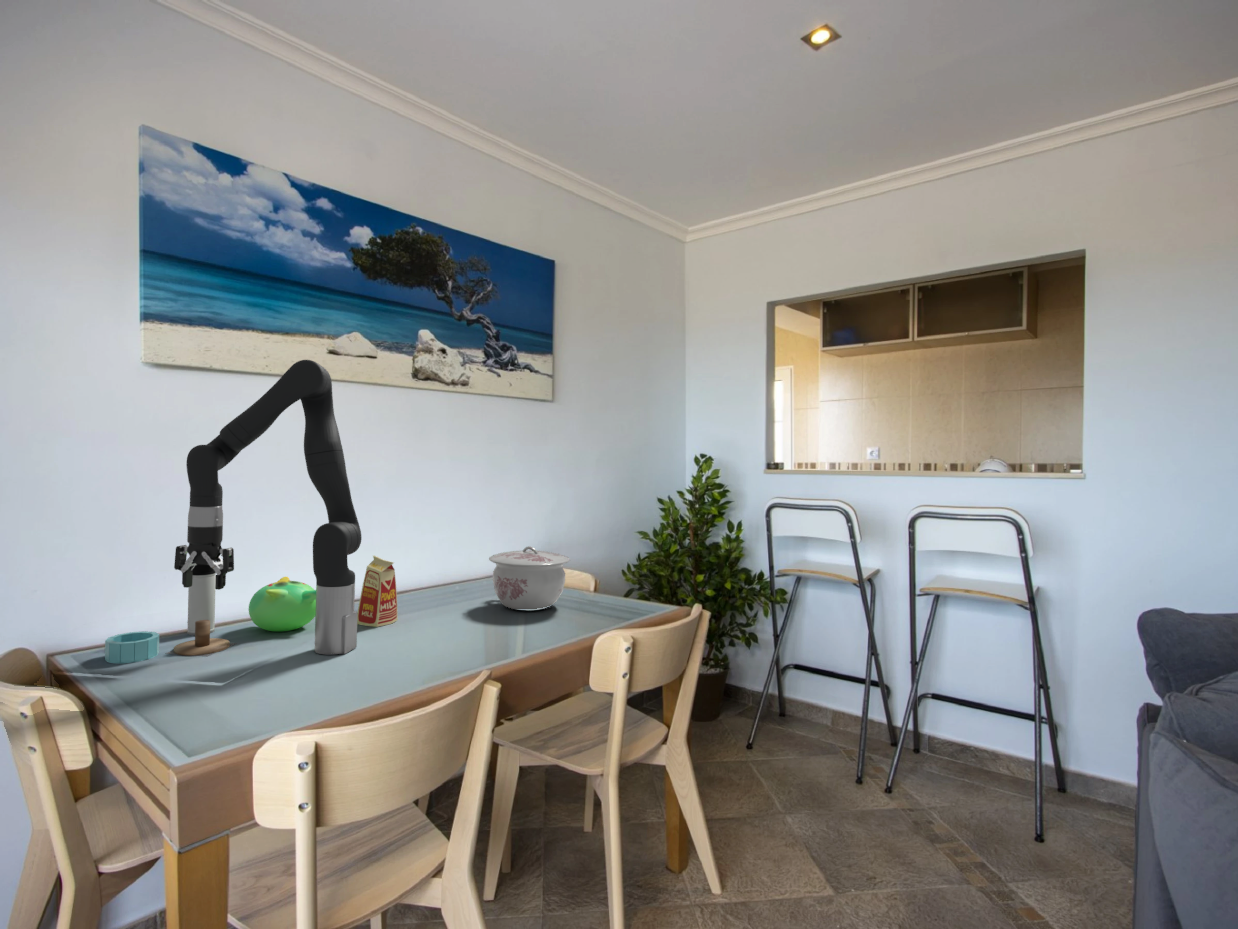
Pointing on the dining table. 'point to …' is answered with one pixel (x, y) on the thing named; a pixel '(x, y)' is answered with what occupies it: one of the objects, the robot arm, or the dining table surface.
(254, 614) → the toy bird
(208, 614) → the travel mug
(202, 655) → the mat
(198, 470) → the robot arm
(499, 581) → the chamber pot
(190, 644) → the lid
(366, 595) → the milk carton
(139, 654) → the bowl
